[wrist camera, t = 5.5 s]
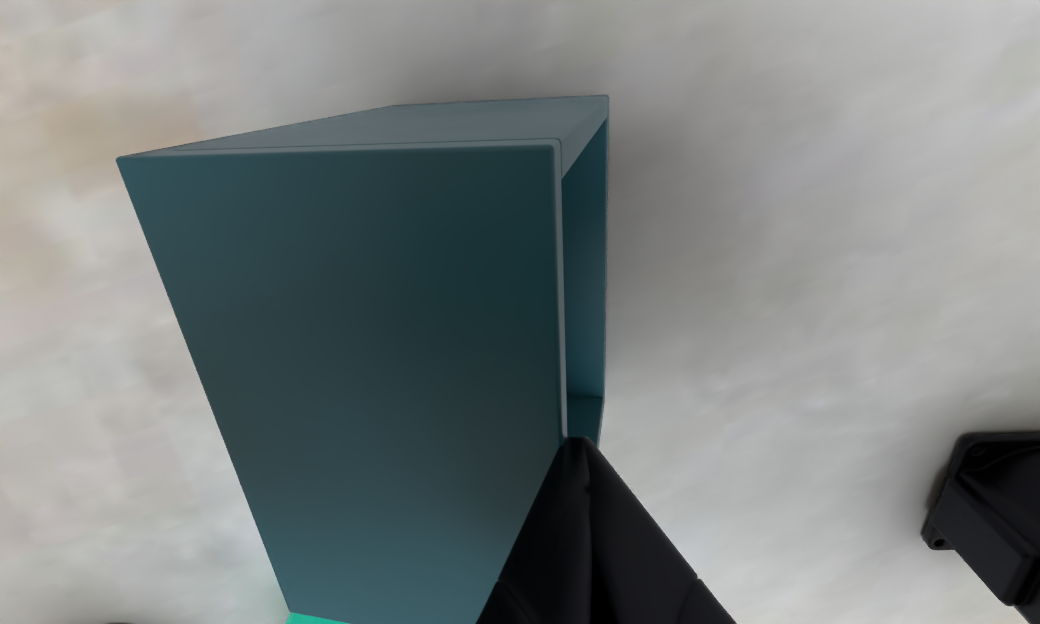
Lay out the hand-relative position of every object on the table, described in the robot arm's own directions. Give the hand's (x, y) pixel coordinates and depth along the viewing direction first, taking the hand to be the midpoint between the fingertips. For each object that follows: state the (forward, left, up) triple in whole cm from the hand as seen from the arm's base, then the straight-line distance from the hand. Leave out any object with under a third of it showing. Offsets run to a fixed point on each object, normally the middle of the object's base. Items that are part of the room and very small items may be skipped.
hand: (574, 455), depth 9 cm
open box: (+2, 0, -10) cm, 10 cm away
